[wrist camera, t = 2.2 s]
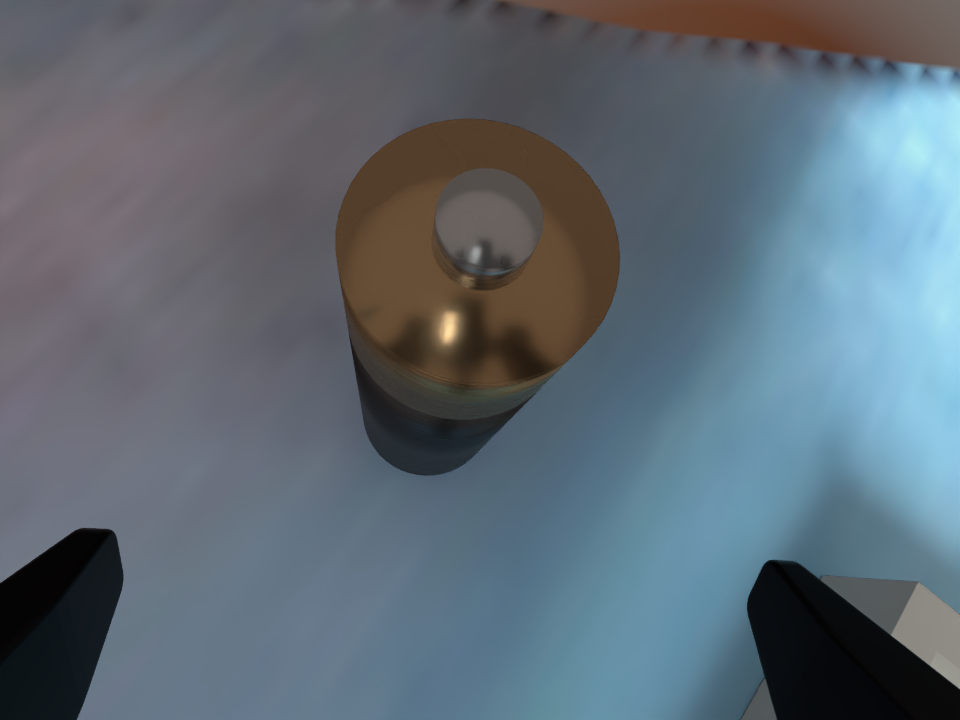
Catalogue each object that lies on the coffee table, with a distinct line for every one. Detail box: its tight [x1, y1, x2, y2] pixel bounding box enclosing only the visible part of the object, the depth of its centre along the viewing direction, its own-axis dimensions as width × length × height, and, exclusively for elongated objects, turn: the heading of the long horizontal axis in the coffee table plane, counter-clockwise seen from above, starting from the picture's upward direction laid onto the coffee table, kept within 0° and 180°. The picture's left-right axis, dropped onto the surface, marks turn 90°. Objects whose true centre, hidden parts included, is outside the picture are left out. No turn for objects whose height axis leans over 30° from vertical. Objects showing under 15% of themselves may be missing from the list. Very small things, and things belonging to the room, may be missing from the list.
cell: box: [336, 119, 620, 476], centre depth 15 cm, size 4×4×13 cm
